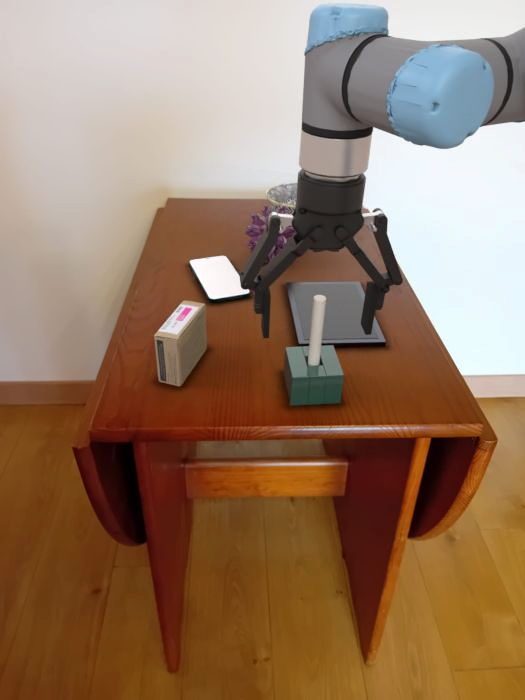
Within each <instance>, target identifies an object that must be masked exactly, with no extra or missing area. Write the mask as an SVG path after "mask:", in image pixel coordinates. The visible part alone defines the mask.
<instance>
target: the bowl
mask: <svg viewBox="0 0 525 700" xmlns="http://www.w3.org/2000/svg"><path fill="white" fill-rule="evenodd" d="M297 182H298V181H295V182H294V181H293V182H286V183H284V182H283V183H280V184H275V185H274V186H271V187H269V188H268V189H267V190H266V192H265V197H266V199H267V201H268V203H269V206H270V209H271V210H273V209H275V208H276V205H279V210H280V209H282V207H283V206H286V214H287V213H290V212H291V211H292V212H294V210H295V207H296V197H297Z"/></svg>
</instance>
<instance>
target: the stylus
mask: <svg viewBox="0 0 525 700" xmlns="http://www.w3.org/2000/svg"><path fill="white" fill-rule="evenodd" d="M325 306H326V297H325V296H323V295H316V296H314V299H313V311H312V322H311V333H310V344H309V355H308V366H318V365H319V362H320V353H321V343H322V334H323V324H324V315H325Z"/></svg>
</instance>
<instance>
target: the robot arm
mask: <svg viewBox="0 0 525 700" xmlns="http://www.w3.org/2000/svg"><path fill="white" fill-rule="evenodd" d="M389 19H390V18H389V11H388V10H387V8H385V7H384V6H380V5H376V4H366V3H349V2H348V3H346V2H344V3H343V2H333V3H331V2H330V3H329V2H328V3H322V4H318V5H317V6H315V7H314V8H313V9H312V11H311V12H310V16H309V20H308V21H309V22H308V29H307V38H306V39H307V40H306V47H305V48H304V51H303V54H304V55H303V56H304V69H303V70H304V74H303V89H302V106H301V107H302V109H301V110H302V111H301V130H300V131H301V132H300V141H299V155H298V166H299V167H300V168H301V169H300V170H299V171H298V172H297V181H296V182H297V197H296V207H295V210H294V212H293V214H292V215H289V214H279V213H278V212H277V211H276V210H274V209H273V210H272V209H271V210H270V211H269V213H268V217H267V224H266V228H265V230H264V232H263V234H262V235H261V237H260V239H259V241H258V243H257V244H256V246H255V248H254V250H253V251H252V252H250V255H249V257H248V259H247V261H246V262H245V264H244V265H243V268H242V269H241V272H240V273H239V275H240V284H241V288H242V289H244V290H247V289H249V290H250V291H252V292H253V310H254V313H255V314H256V315H261V319H260V320H261V321H260V322H261V323H260V328H261V334H262V339H270V326H271V325H270V322H271V304H272V303H271V302H272V301H271V300H272V294H271V290H270V286H272V285H273V284H274V283H275V282H276V281H277V280H278V279H279V278H280V276H281V275H283V274H284V272H286V271H287V269H288V268H289V267H290V266H291V265H292V264H293V263H294V262H295V261H296V260H297V259H298V258H301V257H303V255H305V253H306V252H308V250H310V251H312V252H313V253H321V252H326V251H327V252H332V253H338V252H340V250H342V249H344V248H346V249H347V251H348V252H349V253H350V255H351V256H352V257H353V258H354V259H355V260H356V261H357V262H358V264H359V265H360V266H361V268H362V269H363V270H364V271H365V273H366V274H367V275H368V277H369V278H370V279H371V280H370V281H368V280H367V282H366V287H365V292H364V293H365V299H364V305H363V311H362V318H361V326H362V328H363V330H364V332H365V335H371V332H372V327H373V321H374V315H375V314H376V311H381V310H382V309H383V307H384V302H385V297H386V294H387V293H389V292H390V290H391V287H392V286H397V287H399V286H400V285H402V284H403V282H404V279H403V276H402V273H401V270H400V267H399V264H398V261H397V259H396V255H395V253H394V250H393V247H392V244H391V241H390V239H389V236H388V223H389V222H388V221H389V220H388V217H387V215H386V214H385V213H384V211H383V210H382V209H381V208H380V207H376V208H374V209H373V210H372V212H366V213H365V212H364V213H362V212H363V211H362V208H363V204H364V197H365V196H364V195H365V189H366V180H367V176H366V175H365V173H366V172H367V171H368V169H369V162H370V154H371V146H372V138H373V132H374V129H377V130H380V131H382V132H385V133H387V134H391V135H393V136H396V137H398V138H401V139H403V140H404V141H406V142H410V143H412V145H416V146H421V147H423V146H426V147H431V148H434V149H438V150H451V149H453V148H457V147H459V146H461V145H462V144H464V142H465V140H466V139H467V138H469V137H472V136H474V134H476V133H477V131H478V130H479V129H480V128H482V127H488V126H494V125H501V124H509V123H517V124H518V123H519V124H520V123H525V26H524V27H522V28H520V29H518V30H517V31H515V32H513V33H511V34H508V35H505V36H495V37H481V38H470V39H469V38H468V39H467V38H466V39H449V40H447V39H445V40H418V39H417V40H416V39H409V38H401V37H396V36H395V37H394V36H391V35H389V34H390V33H389V32H390V30H389ZM364 225H365V226H366V228H367V229H368V230H369V232H372V234H373V237H374V239H375V242H376V245H377V247H378V251H379V253H380V256H381V259H382V261H383V264H384V266H385V270H386V272H383V273H382V272H381V271H380V269H379V268H378V267H377V266H376V264H375V262H373V260H372V259H371V258H370V256H369V255H368V254H367V252H366V251H365V250H364V248H363V247H362V246H361V245H360V243H359V242H358V241H357V239H356V238H355V236H356V235H357V234H358V233H359V232H360V231H361V229H362V228H363V226H364ZM288 226H292V227H293V229H294V230H295V233H294V234H293V236H292V237H291V238H290V239H289V242H288V243H287V244H286V245H285V246H284V247H283V248H282V249H281V251H280V252H279V253H278V254H277V255H276V256H275V257H274V258H273V259H272V260H271V261H270V262H269V261H268V262H267V264H266V265H265V266H264V267H263V265H264V264H265V260H266V259H267V257H268V255H269V254H270V252H271V250H272V248H273V247H274V245H275V243H276V241H277V239H278V235H279V234H282V233H283V232H284V231H285V229H286V228H287V227H288ZM262 267H263V268H262ZM375 316H376V315H375Z"/></svg>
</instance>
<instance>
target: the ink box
mask: <svg viewBox="0 0 525 700" xmlns="http://www.w3.org/2000/svg"><path fill="white" fill-rule="evenodd" d="M207 332H208V331H207V307H206V303H203V302H198V301H192V300H182V302H180V304H179V305H178V306H177V308H175V310H174V311H173V312H172V313H171V314H170V315H169V317H168V318H167V319H166V321H165V322H163V324H162V325H161V327H159V328H158V330H157V331H156V332H155V334H153V337H154V338H153V339H154V348H155V349H154V350H155V359H156V360H155V361H156V369H157V370H156V371H157V378H158V382H159V383H163V384H167V385H171V386H175V387H179V388H180V387H181V386H182V385H184V383H185V381H187V378H188V377H189V376H190V374H191V373H192V371H193V369H194V368H195V367H196V365H197V363H198V362H199V361H200V360H201V358H202V357H203V355H204V354H205V352H206V351H207V349H208V337H207V336H208V335H207V334H208V333H207Z"/></svg>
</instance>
